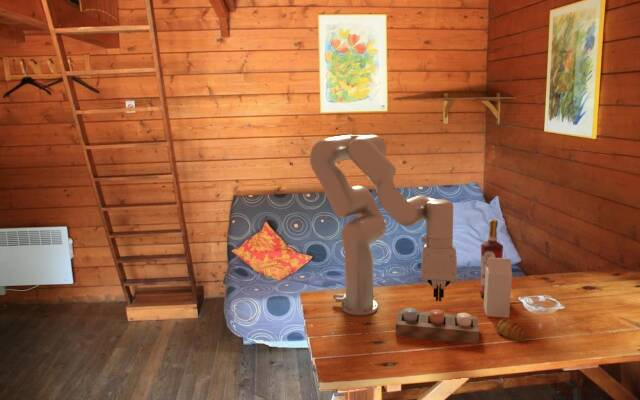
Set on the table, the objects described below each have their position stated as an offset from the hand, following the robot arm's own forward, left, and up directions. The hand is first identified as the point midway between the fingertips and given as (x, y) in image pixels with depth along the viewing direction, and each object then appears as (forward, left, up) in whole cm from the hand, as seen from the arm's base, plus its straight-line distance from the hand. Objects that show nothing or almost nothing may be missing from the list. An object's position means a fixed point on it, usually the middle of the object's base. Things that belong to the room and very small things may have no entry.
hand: (438, 299), depth 145 cm
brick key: (0, 0, -9) cm, 9 cm away
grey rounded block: (-8, 0, -9) cm, 12 cm away
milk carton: (+19, +17, -11) cm, 28 cm away
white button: (+8, 0, -9) cm, 12 cm away
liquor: (+18, +30, -11) cm, 37 cm away
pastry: (+22, +4, -11) cm, 25 cm away
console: (0, 0, -11) cm, 11 cm away
